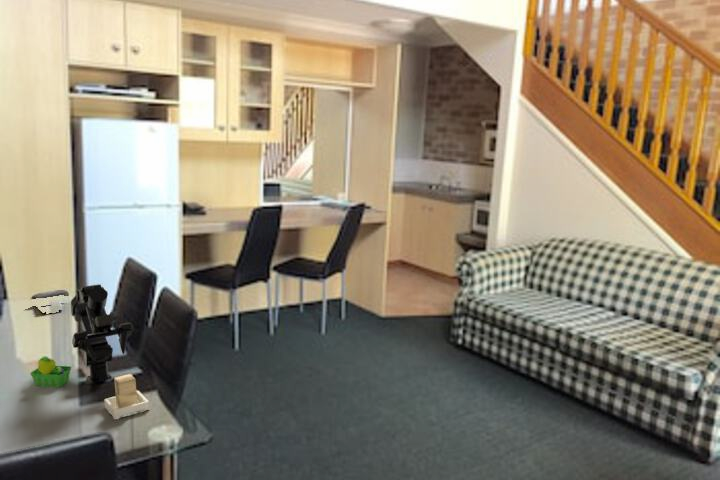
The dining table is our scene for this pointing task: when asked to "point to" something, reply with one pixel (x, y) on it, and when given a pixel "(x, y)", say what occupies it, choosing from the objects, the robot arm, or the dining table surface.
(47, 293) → the glasses case
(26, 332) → the dining table surface
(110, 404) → the tray
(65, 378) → the fruit basket
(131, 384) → the light brown tall block
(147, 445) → the dining table surface
